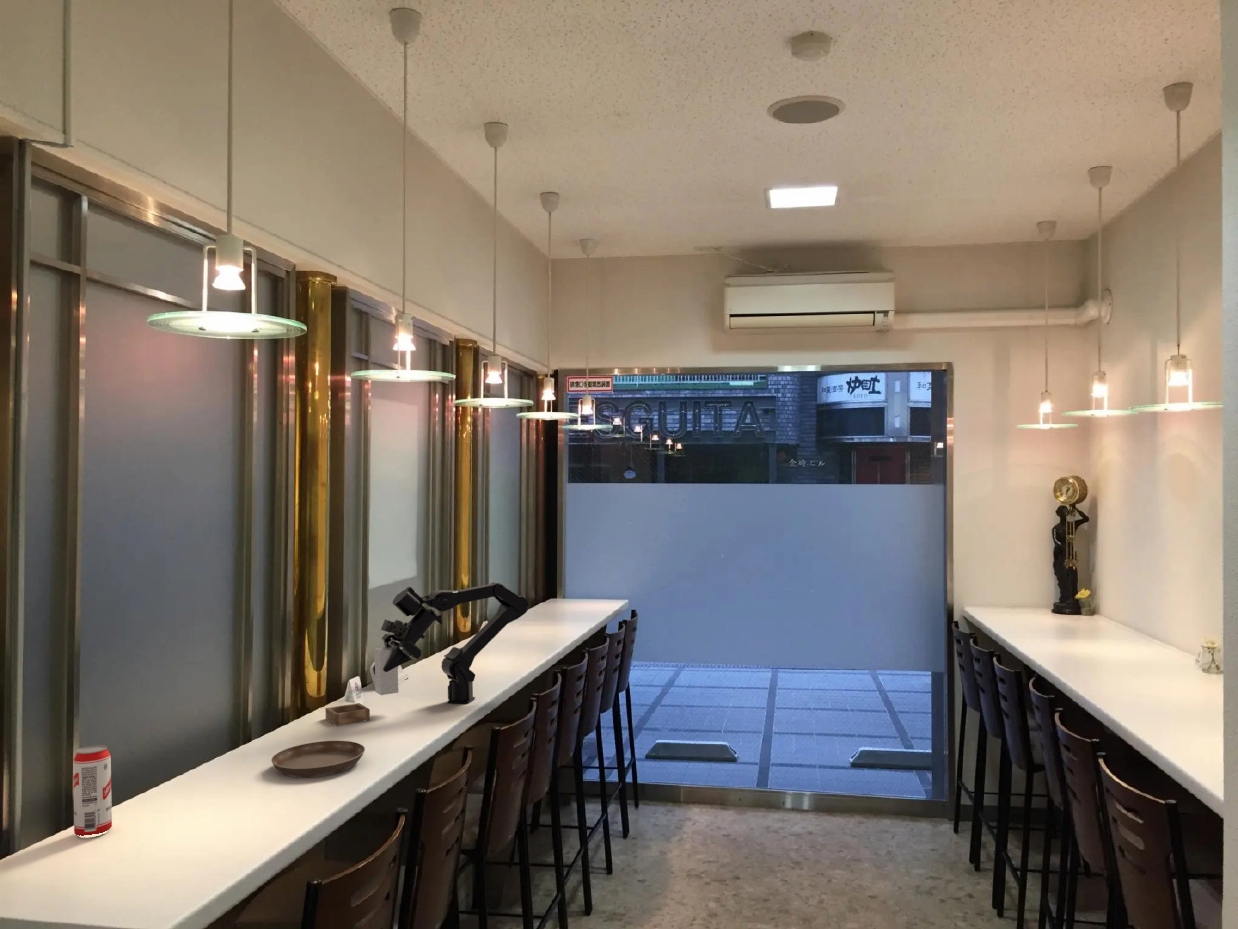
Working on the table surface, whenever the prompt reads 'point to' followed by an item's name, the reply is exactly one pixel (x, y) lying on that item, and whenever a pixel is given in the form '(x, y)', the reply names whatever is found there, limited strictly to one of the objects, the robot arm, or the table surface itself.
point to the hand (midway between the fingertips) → (381, 669)
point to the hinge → (401, 674)
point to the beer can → (92, 790)
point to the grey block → (385, 680)
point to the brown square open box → (347, 714)
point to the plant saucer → (318, 758)
